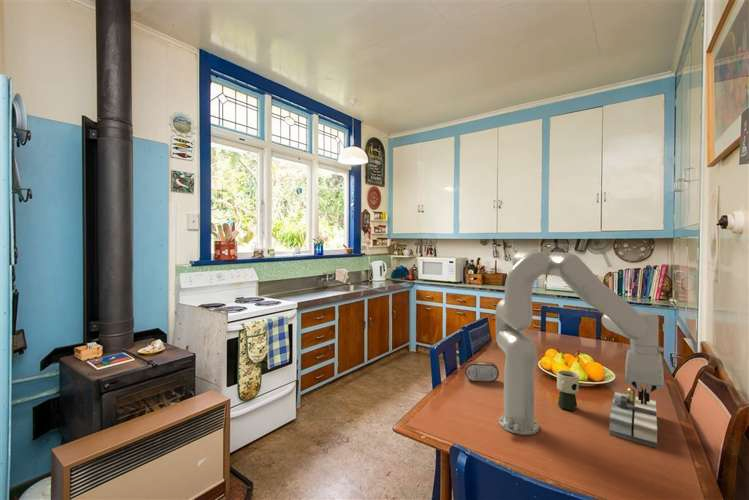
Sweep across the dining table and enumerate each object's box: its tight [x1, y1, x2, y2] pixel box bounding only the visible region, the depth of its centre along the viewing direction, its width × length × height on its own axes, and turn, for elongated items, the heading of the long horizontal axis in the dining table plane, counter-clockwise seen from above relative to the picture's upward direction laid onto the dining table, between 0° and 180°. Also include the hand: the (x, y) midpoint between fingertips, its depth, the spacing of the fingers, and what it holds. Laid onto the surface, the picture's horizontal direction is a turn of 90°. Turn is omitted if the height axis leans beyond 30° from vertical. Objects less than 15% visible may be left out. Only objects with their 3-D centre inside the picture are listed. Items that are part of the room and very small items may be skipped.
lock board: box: [608, 391, 658, 449], centre depth 119 cm, size 24×12×8 cm, turn 142°
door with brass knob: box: [615, 387, 636, 408], centre depth 121 cm, size 2×6×6 cm, turn 52°
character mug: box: [556, 369, 580, 411], centre depth 132 cm, size 11×7×13 cm, turn 133°
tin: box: [463, 361, 500, 383], centre depth 157 cm, size 15×3×8 cm, turn 84°
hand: (643, 402), depth 118 cm, fingers closed
